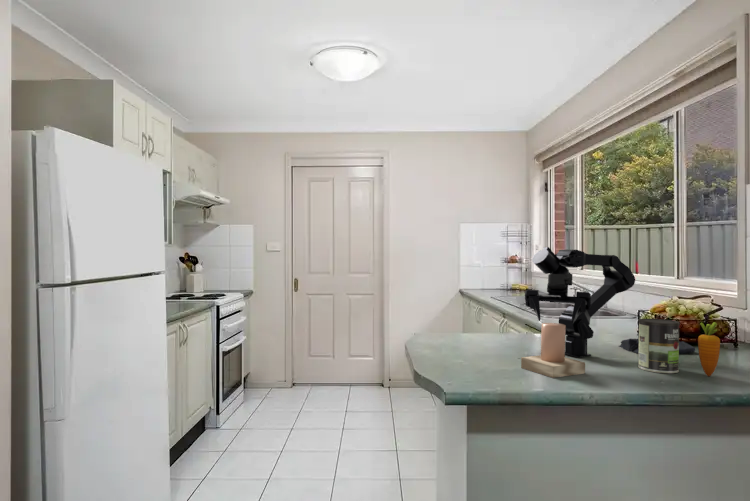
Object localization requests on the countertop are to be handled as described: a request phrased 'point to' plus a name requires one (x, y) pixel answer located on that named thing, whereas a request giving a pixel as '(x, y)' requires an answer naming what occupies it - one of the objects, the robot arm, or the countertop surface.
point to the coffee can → (659, 345)
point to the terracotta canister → (553, 342)
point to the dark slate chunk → (633, 346)
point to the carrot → (709, 348)
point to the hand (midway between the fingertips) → (555, 321)
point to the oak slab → (553, 366)
